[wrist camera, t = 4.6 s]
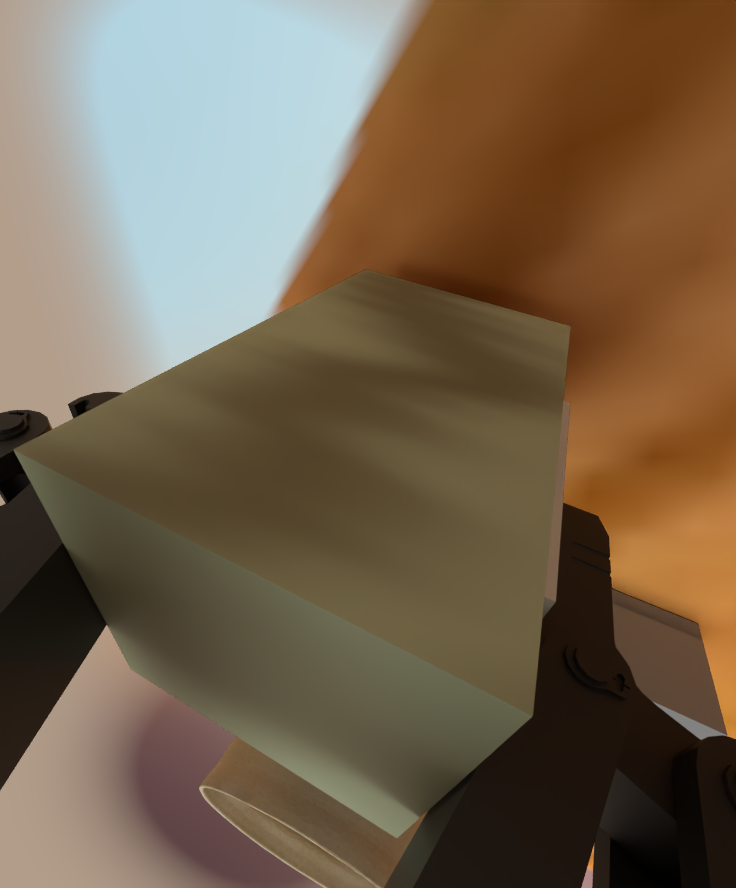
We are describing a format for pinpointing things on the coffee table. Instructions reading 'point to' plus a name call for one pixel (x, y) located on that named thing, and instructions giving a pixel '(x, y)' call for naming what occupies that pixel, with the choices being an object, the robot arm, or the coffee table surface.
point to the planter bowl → (301, 821)
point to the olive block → (332, 532)
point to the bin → (668, 663)
